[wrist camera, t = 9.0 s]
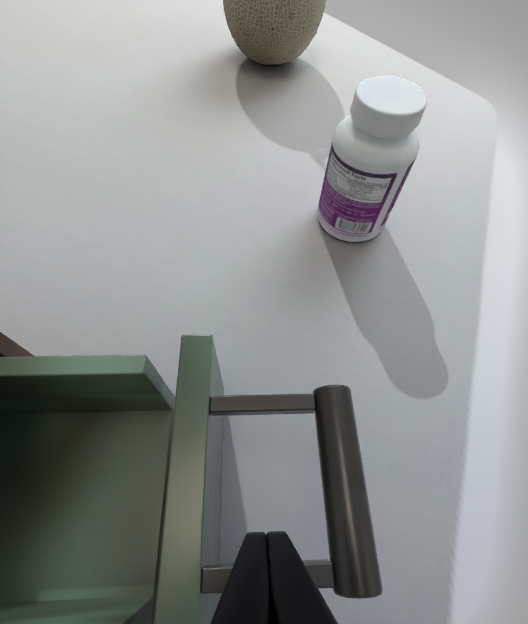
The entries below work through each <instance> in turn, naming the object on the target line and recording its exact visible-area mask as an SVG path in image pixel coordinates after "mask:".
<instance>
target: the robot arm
mask: <svg viewBox="0 0 528 624" xmlns="http://www.w3.org/2000/svg"><path fill="white" fill-rule="evenodd" d="M210 624H338V623H337V621H336V619H335V618H334V616H333V614H332V612H331V611H330V609H329V607H328V605H327V604H326V602H325V600H324V598H323V597H322V595H321V593H320V591H319V589H318V588H317V586H316V584H315V582H314V581H313V579H312V577H311V575H310V574H309V572H308V570H307V568H306V567H305V565H304V563H303V561H302V559H301V558H300V556H299V554H298V552H297V551H296V549H295V547H294V545H293V544H292V542H291V540H290V538H289V537H288V535H287V534H286V532H284V531H273V532H268V533H267V535H266V534H265V533H264V532H250V533H247V534H246V536H245V538H244V541H243V543H242V546H241V548H240V551H239V553H238V556H237V558H236V561H235V563H234V566H233V568H232V571H231V573H230V576H229V578H228V581H227V583H226V586H225V588H224V591H223V593H222V596H221V598H220V601H219V603H218V606H217V608H216V611H215V613H214V616H213V618H212V621H211V623H210Z"/></svg>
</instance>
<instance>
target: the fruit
mask: <svg viewBox="0 0 528 624" xmlns="http://www.w3.org/2000/svg"><path fill="white" fill-rule="evenodd" d="M325 3H326V0H223V5H224V12H225V16H226V20H227V24H228V27H229V30H230V32H231V35H232V37H233V39H234V41H235V43H236V44H237V46H238V47H239V49H240V50H241V51H242V52H243V53H244V54H245V55H246V56H247V57H248V58H250V59H252V60H253V61H255V62H257V63H260V64H266V65H272V64H283V63H287V62H290V61H292V60H294V59H295V58H297V57H298V56H299V55H301V54H302V53H303V51H304V50H305V49H306V48H307V47H308V45H309V44H310V42H311V40H312V39H313V37H314V36H315V35H316V33H317V29H318V27H319V24H320V22H321V19H322V15H323V12H324V8H325Z"/></svg>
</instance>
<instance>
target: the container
mask: <svg viewBox="0 0 528 624" xmlns="http://www.w3.org/2000/svg"><path fill="white" fill-rule="evenodd" d="M314 411H315V420H316V429H317V439H318V448H319V458H320V468H321V477H322V487H323V496H324V506H325V516H326V525H327V535H328V545H329V554H330V561H329V560H305V561H303V563H304V565H305V567H306V568H307V570H308V572H309V574H310V575H311V577H312V579H313V581H314V582H315V584H316V586H317V588H333V591H334V593H335V594H337V595H339V596H342V597H347V598H372V597H376V596H379V595H381V594H382V583H381V577H380V571H379V565H378V558H377V552H376V546H375V540H374V533H373V527H372V521H371V515H370V508H369V502H368V496H367V490H366V483H365V477H364V471H363V465H362V458H361V452H360V446H359V440H358V433H357V427H356V421H355V415H354V408H353V402H352V396H351V390H350V388H349V387H347V386H344V385H327V386H322V387H319V388H317V389H315V390H314V391H313V394H279V395H233V396H224V387H223V382H222V378H221V373H220V368H219V364H218V359H217V355H216V350H215V346H214V341H213V337H212V335H182V337H181V347H180V358H179V368H178V378H177V389H176V398H175V396H174V395H173V394H172V392H171V391H170V389H169V388H168V386H167V385H166V383H165V382H164V381H163V379H162V378H161V376H160V375H159V373H158V372H157V370H156V369H155V367H154V366H153V364H152V363H151V361H150V360H149V359H148V357H147V356H146V355H93V356H30V357H0V624H149V623H150V622H151V621H152V619H153V618H154V624H210V623H211V621H212V618H213V616H214V613H215V611H216V608H217V606H218V593H223V591H224V588H225V586H226V583H227V581H228V578H229V576H230V573H231V571H232V568H233V566H234V564H219V549H220V511H221V474H222V437H223V416H224V415H265V414H306V413H313V412H314Z"/></svg>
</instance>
